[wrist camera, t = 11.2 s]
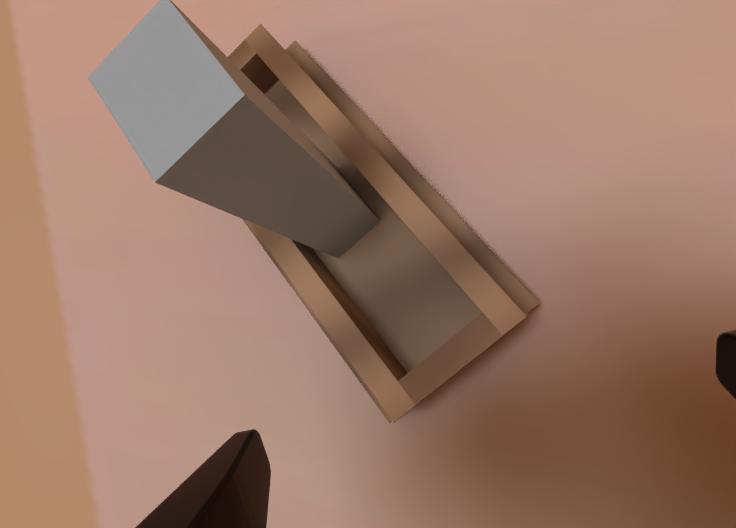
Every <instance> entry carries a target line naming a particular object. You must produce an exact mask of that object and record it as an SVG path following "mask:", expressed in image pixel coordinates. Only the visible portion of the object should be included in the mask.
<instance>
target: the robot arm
mask: <svg viewBox="0 0 736 528" xmlns="http://www.w3.org/2000/svg"><path fill="white" fill-rule="evenodd" d="M716 375H717V377H718V380H719V381H720V383H721V384H722V385H723V386H724V387H725V389H726V390H727V391H728V392H729V393H730V394H731V395H732V396H733V397H734V398H735V399H736V330H735V331H730V332H725V333H722V334H721V335H719V337H718V338H717V345H716ZM270 477H271V470H270V463H269V460H268V457H267V454H266V451H265V448H264V446H263V443H262V440H261V437H260V434H259V433H258V431H256V430H254V429H252V430H247V431H242V432H238V433H235V434H234V435H233V436H232V437H231V438H230V439H228V440H227V441H226V442H225V443H224V444H223V445H222V446H221V447H220V448H219V449H218V450H217V451H216V452H215V453H214V454H213V455H212V456H211V457H209V458H208V459H207V460H206V461H205V462H204V463H203V464H202V465H201V466H200V467H199V468H198V469H197V470H196V471H195V472H194V473H193V474H192V475H190V476H189V477H188V478H187V479H186V480H185V481H184V482H183V483H182V484H181V485H180V486H179V487H178V488H177V489H176V490H175V491H174V492H173V493H171V494H170V495H169V496H168V497H167V498H166V499H165V500H164V501H163V502H162V503H161V504H160V505H159V506H158V507H157V508H156V509H155V510H153V511H152V512H151V513H150V514H149V515H148V516H147V517H146V518H145V519H144V520H143V521H142V522H141V523H140V524H139V525H138V526H137V527H135V528H266V524H267V512H268V501H269V489H270Z"/></svg>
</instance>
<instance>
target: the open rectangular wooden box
mask: <svg viewBox="0 0 736 528" xmlns="http://www.w3.org/2000/svg"><path fill="white" fill-rule="evenodd" d="M228 58H229V59H230V60H231V61H232V62H233V63H234V64H235V66H236V67H237V68H238V69H239V70H240V71H241V72H242V73H243V74H244V75H245V76H246V77H247V78H248V79H249V80H250V81H251V82H252V83H253V84H254V85H255V86H256V87H257V88H258V89H259V90H260V91H261V92H262V93H263V94H264V95H265V96H266V97H267V98H268V99H269V100H270V101H271V102H272V103H273V104H274V105H275V106H276V107H277V108H278V109H279V110H280V111H281V112H282V113H283V114H284V115H285V116H286V117H287V118H288V119H289V120H290V121H291V122H292V123H293V124H294V125H295V126H296V127H297V128H298V129H299V130H300V131H301V132H302V133H303V134H304V135H305V136H306V137H307V138H308V139H309V140H310V141H311V142H312V143H313V144H314V145H315V146H316V147H317V148H318V149H319V150H320V151H321V152H322V153H323V154H324V155H325V156H326V157H327V158H328V159H329V160H330V161H331V162H332V163H333V164H334V165H335V166H336V167H337V168H338V169H339V171H340V172H341V173H342V174H343V175H344V177H345V178H346V179H347V180H348V181H349V183H350V184H351V185H352V186H353V188H354V189H355V190H356V191H357V192H358V194H359V195H360V196H361V197H362V198H363V200H364V201H365V202H366V203H367V204H368V206H369V207H370V208H371V209H372V210H373V212H374V213H375V214H376V215H377V216H378V218H379V219H380V220H381V222H380V223H378V224H377V225H376V226H375V227H374V228H373V229H371V230H370V231H369V232H368V233H367V234H366V235H365V236H363V237H362V238H361V239H360V240H359V241H358V242H356V243H355V244H354V245H353V246H352V247H351V248H349V249H348V250H347V251H346V252H345V253H344V254H343V255H341V256H340V257H339V258H336V257H333V256H331V255H328V254H326V253H324V252H321V251H319V250H316V249H314V248H312V247H309V246H307V245H304V244H302V243H300V242H297V241H295V240H292V239H290V238H288V237H285V236H283V235H280V234H278V233H276V232H273V231H271V230H268V229H266V228H264V227H261V226H259V225H256V224H254V223H252V222H249V221H247V220H244V219H243V221H244V222H245V223H246V225H247V226H248V227H249V229H250V230H251V232H252V233H253V234H254V236H255V237H256V239H257V240H258V241H259V243H260V244H261V246H262V247H263V248H264V250H265V251H266V252H267V254H268V255H269V257H270V258H271V259H272V261H273V262H274V264H275V265H276V266H277V268H278V269H279V270H280V272H281V273H282V275H283V276H284V277H285V279H286V280H287V282H288V283H289V284H290V286H291V287H292V288H293V290H294V291H295V293H296V294H297V295H298V297H299V298H300V300H301V301H302V302H303V304H304V305H305V306H306V308H307V309H308V311H309V312H310V313H311V315H312V316H313V318H314V319H315V320H316V322H317V323H318V325H319V326H320V327H321V329H322V330H323V331H324V333H325V334H326V336H327V337H328V338H329V340H330V341H331V343H332V344H333V345H334V347H335V348H336V349H337V351H338V352H339V354H340V355H341V356H342V358H343V359H344V361H345V362H346V363H347V365H348V366H349V367H350V369H351V370H352V372H353V373H354V374H355V376H356V377H357V379H358V380H359V381H360V383H361V384H362V385H363V387H364V388H365V390H366V391H367V392H368V394H369V395H370V397H371V398H372V399H373V401H374V402H375V404H376V405H377V406H378V408H379V409H380V410H381V412H382V413H383V415H384V416H385V417H386V419H387V420H388V422H389V423H390V422H392V421H393V422H395V421H396V420H398V419H399V418H400V417H401V416H403V415H404V414H405V413H406V412H408V411H409V410H410V409H411V408H413V407H414V406H415V405H416V404H418V403H419V402H420V401H422V400H423V399H424V398H425V397H427V396H428V395H429V394H430V393H432V392H433V391H434V390H435V389H437V388H438V387H439V386H440V385H442V384H443V383H444V382H445V381H447V380H448V379H449V378H450V377H452V376H453V375H454V374H455V373H457V372H458V371H459V370H460V369H462V368H463V367H464V366H465V365H467V364H468V363H469V362H470V361H472V360H473V359H474V358H475V357H477V356H478V355H479V354H480V353H482V352H483V351H484V350H485V349H487V348H488V347H489V346H490V345H492V344H493V343H494V342H496V341H497V340H498V339H499V338H501V337H502V336H503V335H504V334H506V333H507V332H508V331H509V330H511V329H512V328H513V327H514V326H516V325H517V324H518V323H519V322H521V321H522V320H523V319H524V318H526V317H527V316H526V314H527V313H528V312H529V311H531V310H532V309H533V308H534V307H536V306H537V305H538V304H539V302H538V301H537V300H536V299H535V298H534V296H533V295H532V294H531V293H530V292H529V291H528V290H527V289H526V288H525V287H524V286H523V285H522V284H521V282H520V281H519V280H518V279H517V278H516V277H515V276H514V275H513V274H512V273H511V272H510V271H509V270H508V269H507V267H506V266H505V265H504V264H503V263H502V262H501V261H500V260H499V259H498V258H497V257H496V256H495V255H494V253H493V252H492V251H491V250H490V249H489V248H488V247H487V246H486V245H485V244H484V243H483V242H482V241H481V239H480V238H479V237H478V236H477V235H476V234H475V233H474V232H473V231H472V230H471V229H470V228H469V227H468V226H467V224H466V223H465V222H464V221H463V220H462V219H461V218H460V217H459V216H458V215H457V214H456V213H455V212H454V210H453V209H452V208H451V207H450V206H449V205H448V204H447V203H446V202H445V201H444V200H443V199H442V198H441V196H440V195H439V194H438V193H437V192H436V191H435V190H434V189H433V188H432V187H431V186H430V185H429V184H428V182H427V181H426V180H425V179H424V178H423V177H422V176H421V175H420V174H419V173H418V172H417V171H416V170H415V169H414V167H413V166H412V165H411V164H410V163H409V162H408V161H407V160H406V159H405V158H404V157H403V156H402V155H401V153H400V152H399V151H398V150H397V149H396V148H395V147H394V146H393V145H392V144H391V143H390V142H389V141H388V139H387V138H386V137H385V136H384V135H383V134H382V133H381V132H380V131H379V130H378V129H377V128H376V127H375V126H374V124H373V123H372V122H371V121H370V120H369V119H368V118H367V117H366V116H365V115H364V114H363V113H362V112H361V110H360V109H359V108H358V107H357V106H356V105H355V104H354V103H353V102H352V101H351V100H350V99H349V98H348V96H347V95H346V94H345V93H344V92H343V91H342V90H341V89H340V88H339V87H338V86H337V85H336V84H335V82H334V81H333V80H332V79H331V78H330V77H329V76H328V75H327V74H326V73H325V72H324V71H323V70H322V69H321V67H320V66H319V65H318V64H317V63H316V62H315V61H314V60H313V59H312V58H311V57H310V56H309V55H308V53H307V52H306V51H305V50H304V49H303V48H302V47H301V46H300V45H299V44H298V43H297V42H296V41H294V42H293V43H292V44H291V45H290V46H289V47H288V48H287V49H286V50H284V49H283V48H282V46H281V45H280V44H279V43H278V42H277V41H276V40H275V39H274V38H273V37H272V35H271V34H270V33H269V32H268V31H267V30H266V29H265V28H264V27H263V26H262V24H260V25H259V26H258V27H257V28H256V29H255V30H254V31H253V32H252V33H251V34H250V35H249V36H248V37H247V38H246V39H245V40H244V41H243V42H242V43H241V44H240V45H239V46H238V47H237V48H236V49H235V50H234V51H233V52H232V53H231V54H230V55H229V56H228Z"/></svg>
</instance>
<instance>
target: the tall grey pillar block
mask: <svg viewBox="0 0 736 528" xmlns="http://www.w3.org/2000/svg"><path fill="white" fill-rule="evenodd" d="M88 78H89V80H90V82H91V83H92V85H93V86H94V88H95V89H96V91H97V93H98V94H99V96H100V97H101V99H102V100H103V102H104V103H105V105H106V107H107V108H108V110H109V111H110V113H111V114H112V116H113V117H114V119H115V121H116V122H117V124H118V125H119V127H120V128H121V130H122V132H123V133H124V135H125V136H126V138H127V139H128V141H129V142H130V144H131V146H132V147H133V149H134V150H135V152H136V153H137V155H138V157H139V158H140V160H141V161H142V163H143V164H144V166H145V167H146V169H147V171H148V172H149V174H150V175H151V177H152V178H153V180H154V181H155V182H156V183H158V184H160V185H163V186H165V187H168V188H170V189H172V190H175V191H177V192H180V193H182V194H184V195H187V196H189V197H192V198H194V199H196V200H199V201H201V202H204V203H206V204H208V205H211V206H213V207H216V208H218V209H220V210H223V211H225V212H228V213H230V214H232V215H235V216H237V217H240V218H242V219H244V220H247V221H249V222H252V223H254V224H256V225H259V226H261V227H264V228H266V229H268V230H271V231H273V232H276V233H278V234H280V235H283V236H285V237H288V238H290V239H292V240H295V241H297V242H300V243H302V244H304V245H307V246H309V247H312V248H314V249H316V250H319V251H321V252H324V253H326V254H328V255H331V256H333V257H336V258H339V257H340V256H341V255H343V254H344V253H345V252H346V251H347V250H348V249H349V248H351V247H352V246H353V245H354V244H355V243H356V242H358V241H359V240H360V239H361V238H362V237H363V236H365V235H366V234H367V233H368V232H369V231H370V230H371V229H373V228H374V227H375V226H376V225H377V224H378V223H380V222H381V220H380V219H379V218H378V216H377V215H376V214H375V213H374V212H373V210H372V209H371V208H370V207H369V206H368V204H367V203H366V202H365V201H364V200H363V198H362V197H361V196H360V195H359V194H358V192H357V191H356V190H355V189H354V188H353V186H352V185H351V184H350V183H349V181H348V180H347V179H346V178H345V177H344V175H343V174H342V173H341V172H340V171H339V169H338V168H337V167H336V166H335V165H334V164H333V163H332V162H331V161H330V160H329V159H328V158H327V157H326V156H325V155H324V154H323V153H322V152H321V151H320V150H319V149H318V148H317V147H316V146H315V145H314V144H313V143H312V142H311V141H310V140H309V139H308V138H307V137H306V136H305V135H304V134H303V133H302V132H301V131H300V130H299V129H298V128H297V127H296V126H295V125H294V124H293V123H292V122H291V121H290V120H289V119H288V118H287V117H286V116H285V115H284V114H283V113H282V112H281V111H280V110H279V109H278V108H277V107H276V106H275V105H274V104H273V103H272V102H271V101H270V100H269V99H268V98H267V97H266V96H265V95H264V94H263V93H262V92H261V91H260V90H259V89H258V88H257V87H256V86H255V85H254V84H253V83H252V82H251V81H250V80H249V79H248V78H247V77H246V76H245V75H244V74H243V73H242V72H241V71H240V70H239V69H238V68H237V67H236V66H235V64H234V63H233V62H232V61H231V60H230V59H229V58H228V57H227V56H226V55H225V54H224V53H223V52H222V51H221V50H220V49H219V48H218V47H217V46H216V45H215V44H214V43H213V42H212V41H211V40H210V39H209V38H208V37H207V36H206V35H205V34H204V33H203V32H202V31H201V30H200V29H199V28H198V27H197V26H196V25H195V24H194V23H193V22H192V21H191V20H190V19H189V18H188V17H187V16H186V15H185V14H184V13H183V12H182V11H181V10H180V9H179V8H178V7H177V6H176V5H175V4H174V3H173V2H172V1H171V0H160V1H159V2H158V3H157V4H156V5H155V6H154V7H153V9H152V10H151V11H150V12H149V13H148V14H147V15H146V16H145V17H144V18H143V19H142V20H141V21H140V22H139V23H138V24H137V25H136V27H135V28H134V29H133V30H132V31H131V32H130V33H129V34H128V35H127V36H126V37H125V38H124V39H123V40H122V41H121V42H120V43H119V44H118V46H117V47H116V48H115V49H114V50H113V51H112V52H111V53H110V54H109V55H108V56H107V57H106V58H105V59H104V60H103V61H102V62H101V63H100V65H99V66H98V67H97V68H96V69H95V70H94V71H93V72H92V73H91V74H90V75H89V76H88Z"/></svg>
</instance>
